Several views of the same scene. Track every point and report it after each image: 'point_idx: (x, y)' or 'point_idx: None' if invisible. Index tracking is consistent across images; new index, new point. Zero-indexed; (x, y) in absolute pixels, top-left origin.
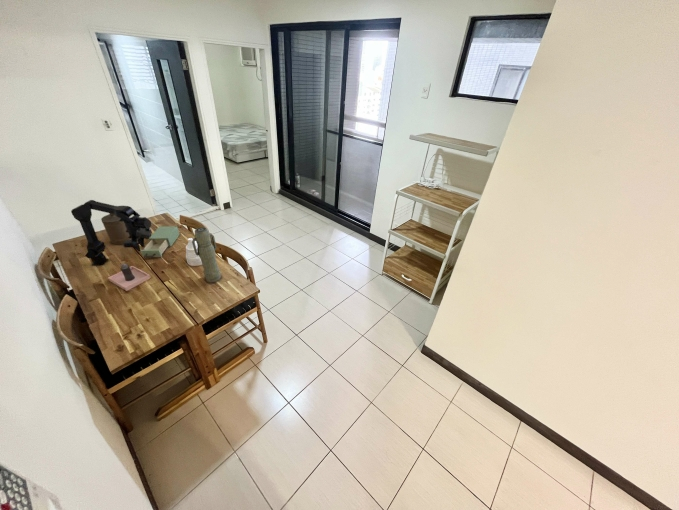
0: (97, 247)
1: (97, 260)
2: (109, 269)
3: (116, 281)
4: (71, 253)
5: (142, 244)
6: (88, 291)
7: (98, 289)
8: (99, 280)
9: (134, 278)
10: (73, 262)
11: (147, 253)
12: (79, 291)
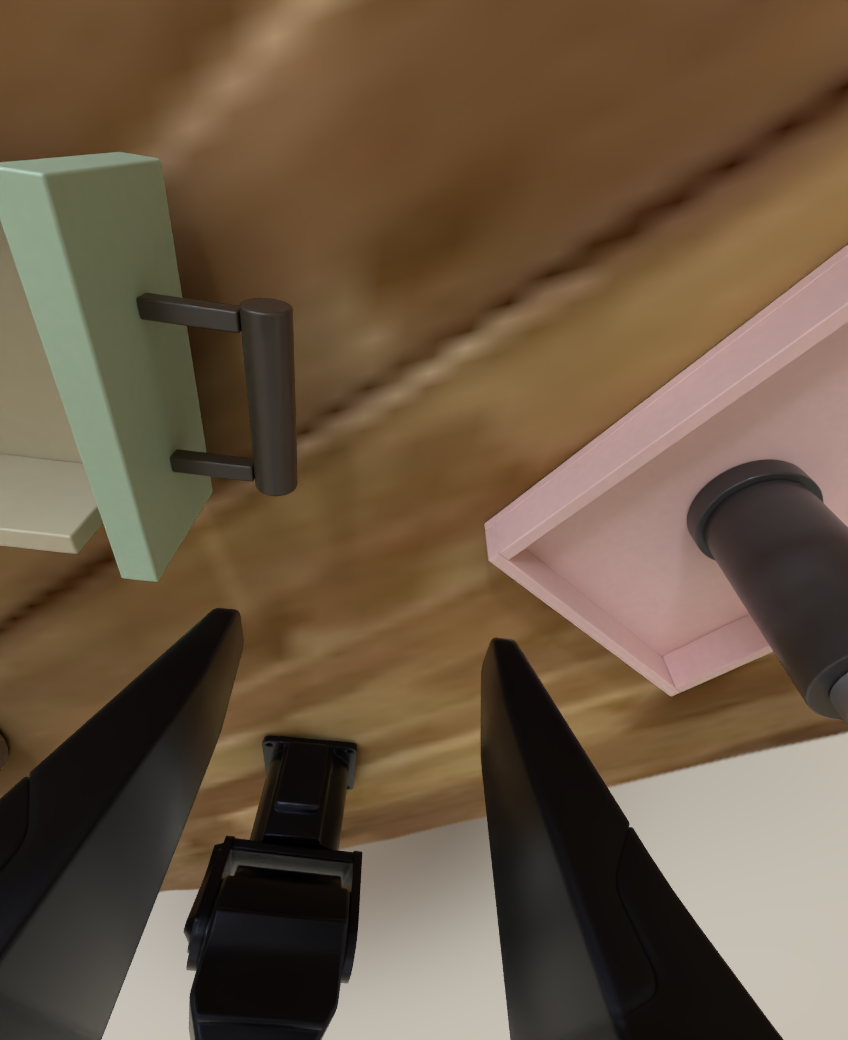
0: (321, 1001)
1: (340, 805)
2: (436, 697)
3: (720, 613)
4: (200, 861)
5: (190, 723)
6: (745, 728)
7: (760, 689)
8: (603, 712)
9: (780, 460)
10: None
11: (167, 455)
12: (706, 763)
